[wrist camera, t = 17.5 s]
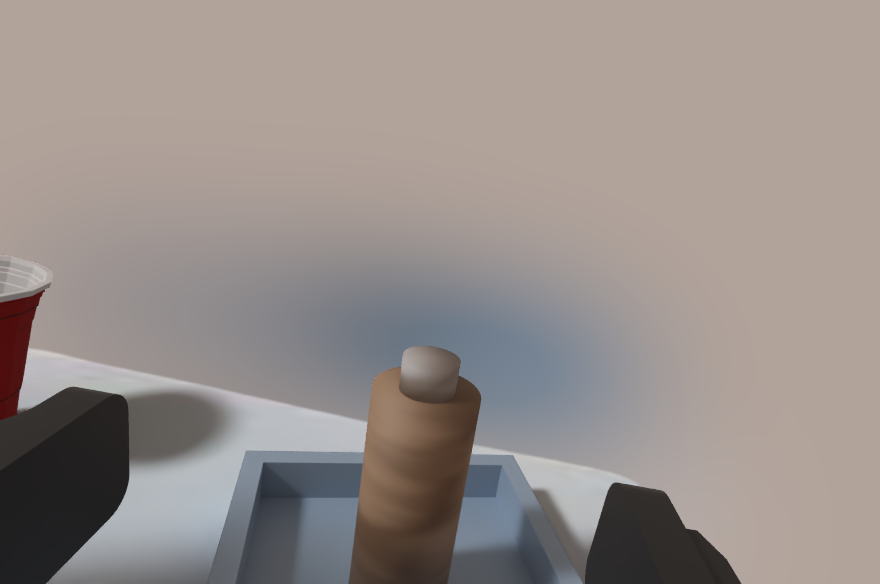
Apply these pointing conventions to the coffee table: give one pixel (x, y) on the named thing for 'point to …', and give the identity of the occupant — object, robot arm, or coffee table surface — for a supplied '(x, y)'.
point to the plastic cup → (17, 323)
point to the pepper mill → (414, 470)
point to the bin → (334, 518)
